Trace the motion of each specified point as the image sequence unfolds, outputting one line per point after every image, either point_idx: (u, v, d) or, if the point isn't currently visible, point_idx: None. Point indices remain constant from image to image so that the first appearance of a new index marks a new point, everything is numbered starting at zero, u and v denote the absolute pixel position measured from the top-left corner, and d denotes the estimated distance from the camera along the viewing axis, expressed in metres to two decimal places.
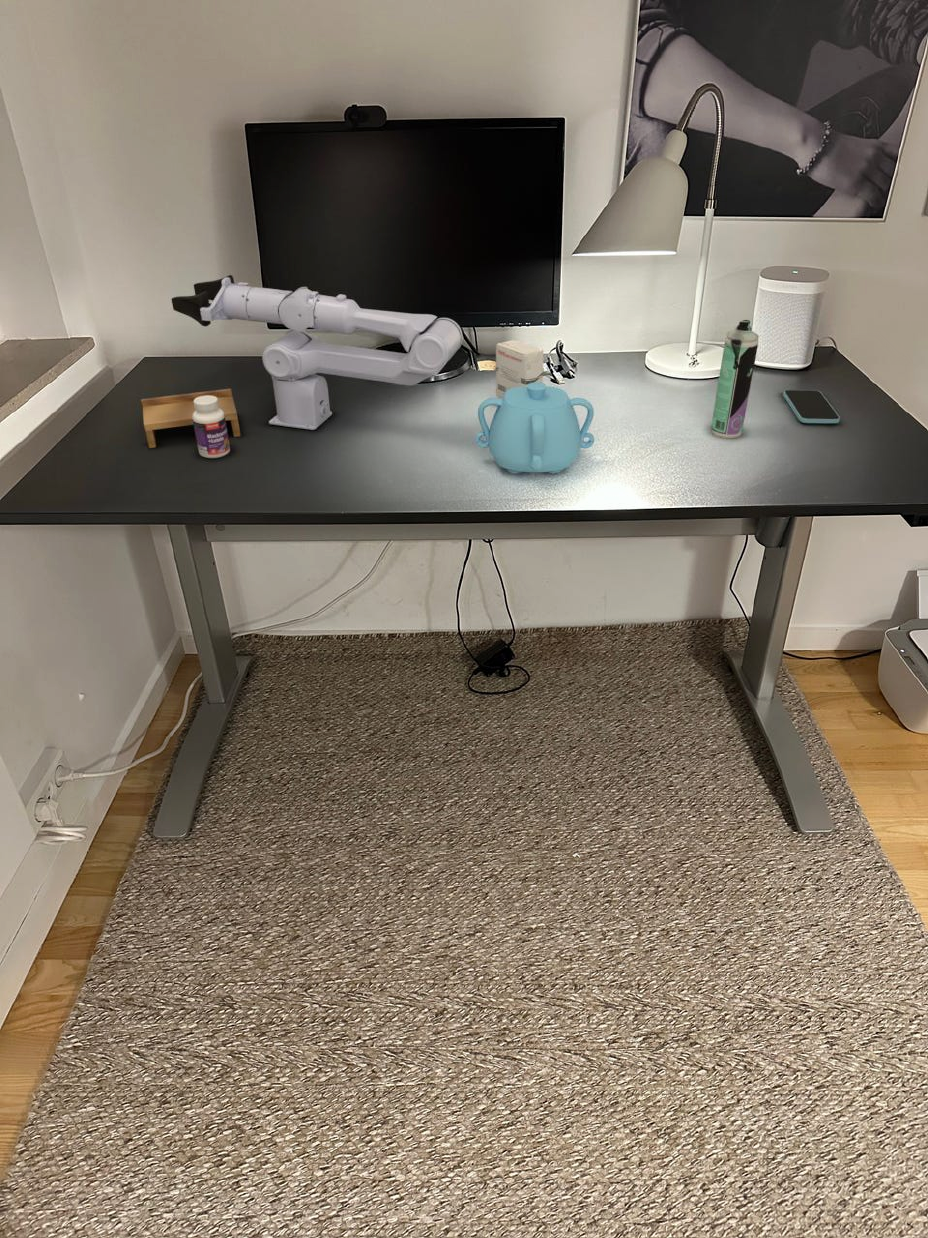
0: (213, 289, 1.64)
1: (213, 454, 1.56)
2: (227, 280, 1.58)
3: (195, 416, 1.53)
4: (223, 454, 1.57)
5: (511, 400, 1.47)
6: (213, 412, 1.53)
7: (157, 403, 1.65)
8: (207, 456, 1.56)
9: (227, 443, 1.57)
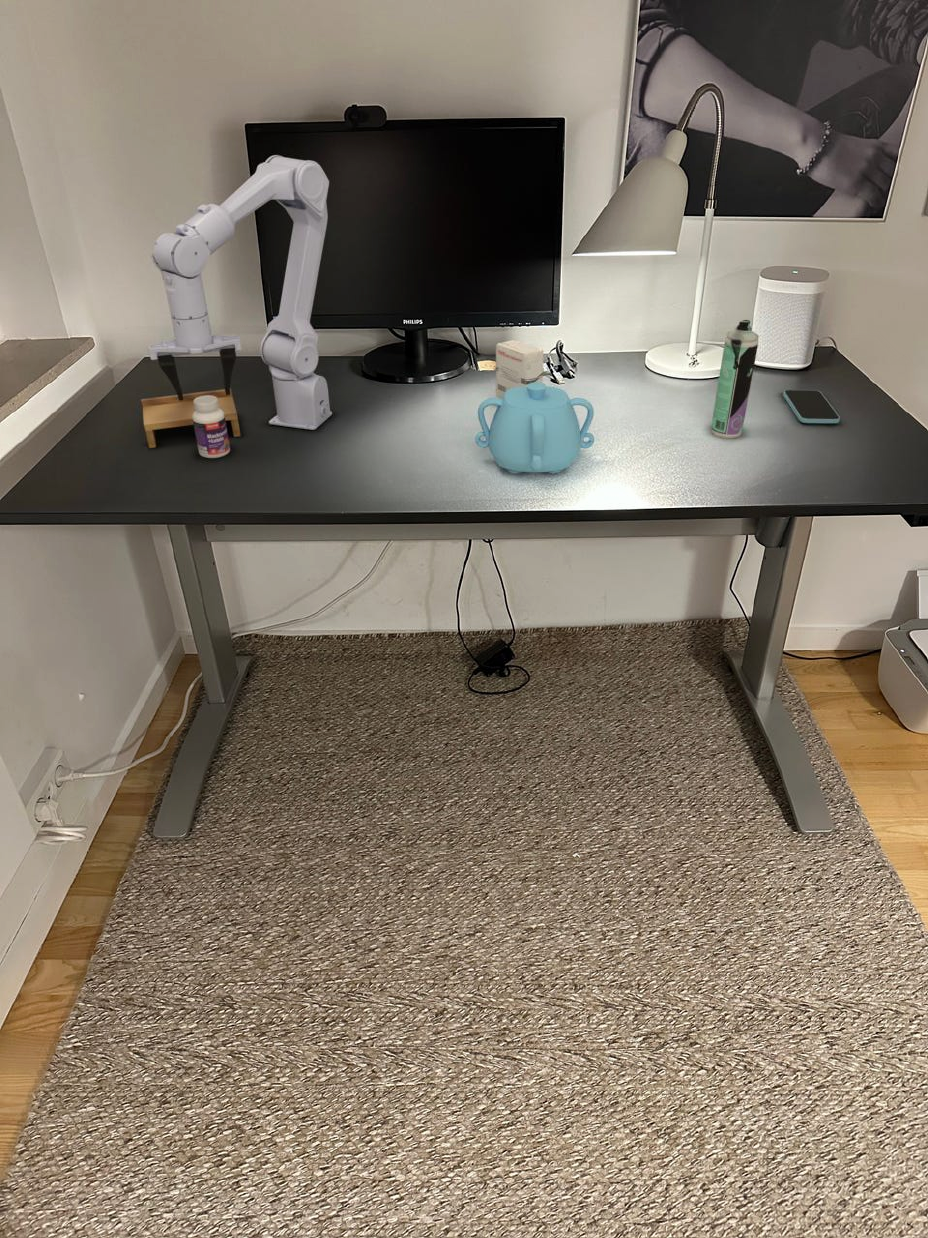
0: None
1: (213, 454, 1.56)
2: (196, 348, 1.45)
3: (195, 416, 1.53)
4: (223, 454, 1.57)
5: (511, 400, 1.47)
6: (213, 412, 1.53)
7: (157, 403, 1.65)
8: (207, 456, 1.56)
9: (227, 443, 1.57)
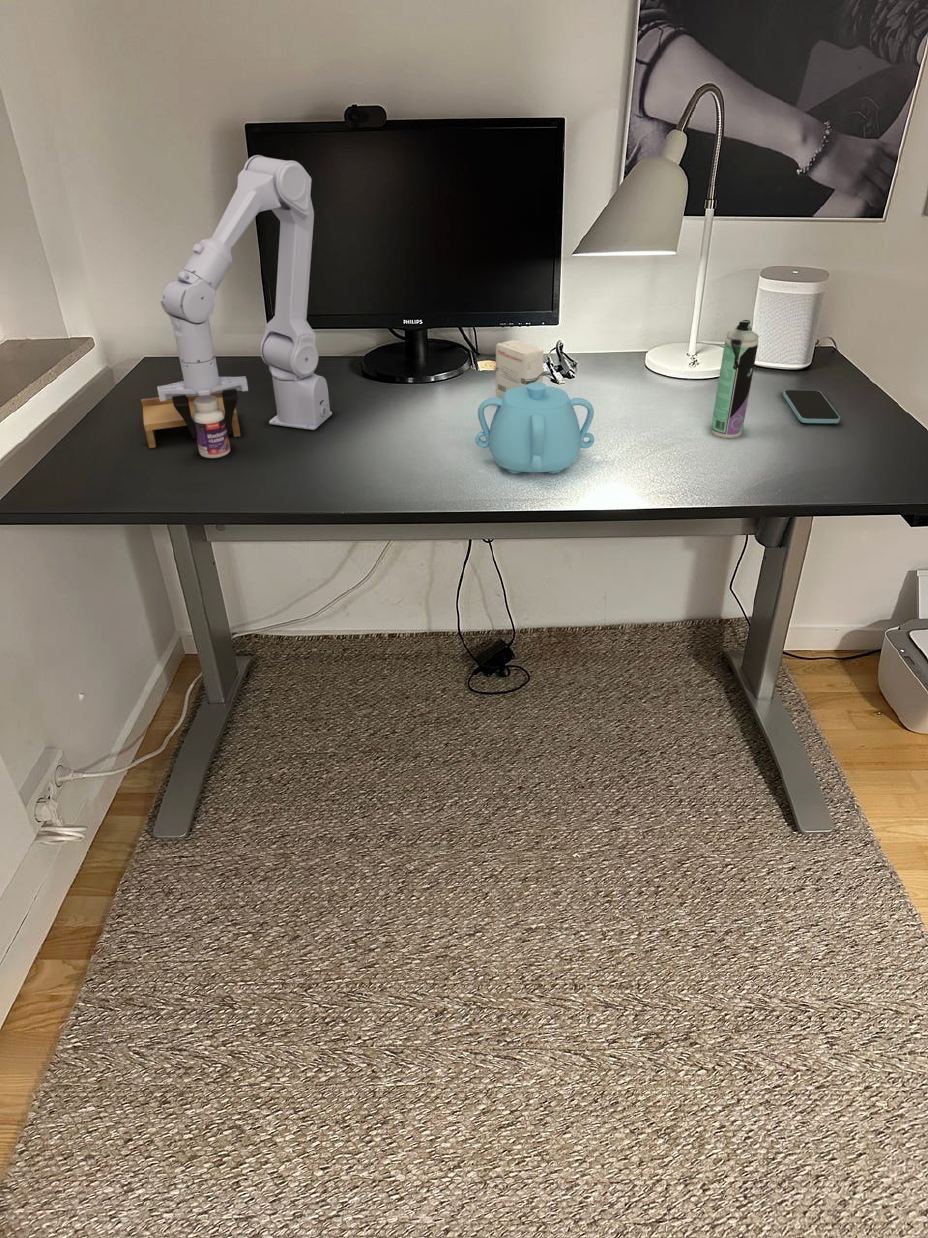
0: (191, 416, 1.54)
1: (213, 454, 1.56)
2: (204, 390, 1.49)
3: (195, 416, 1.53)
4: (223, 454, 1.57)
5: (511, 400, 1.47)
6: (213, 412, 1.53)
7: (157, 403, 1.65)
8: (207, 456, 1.56)
9: (227, 443, 1.57)
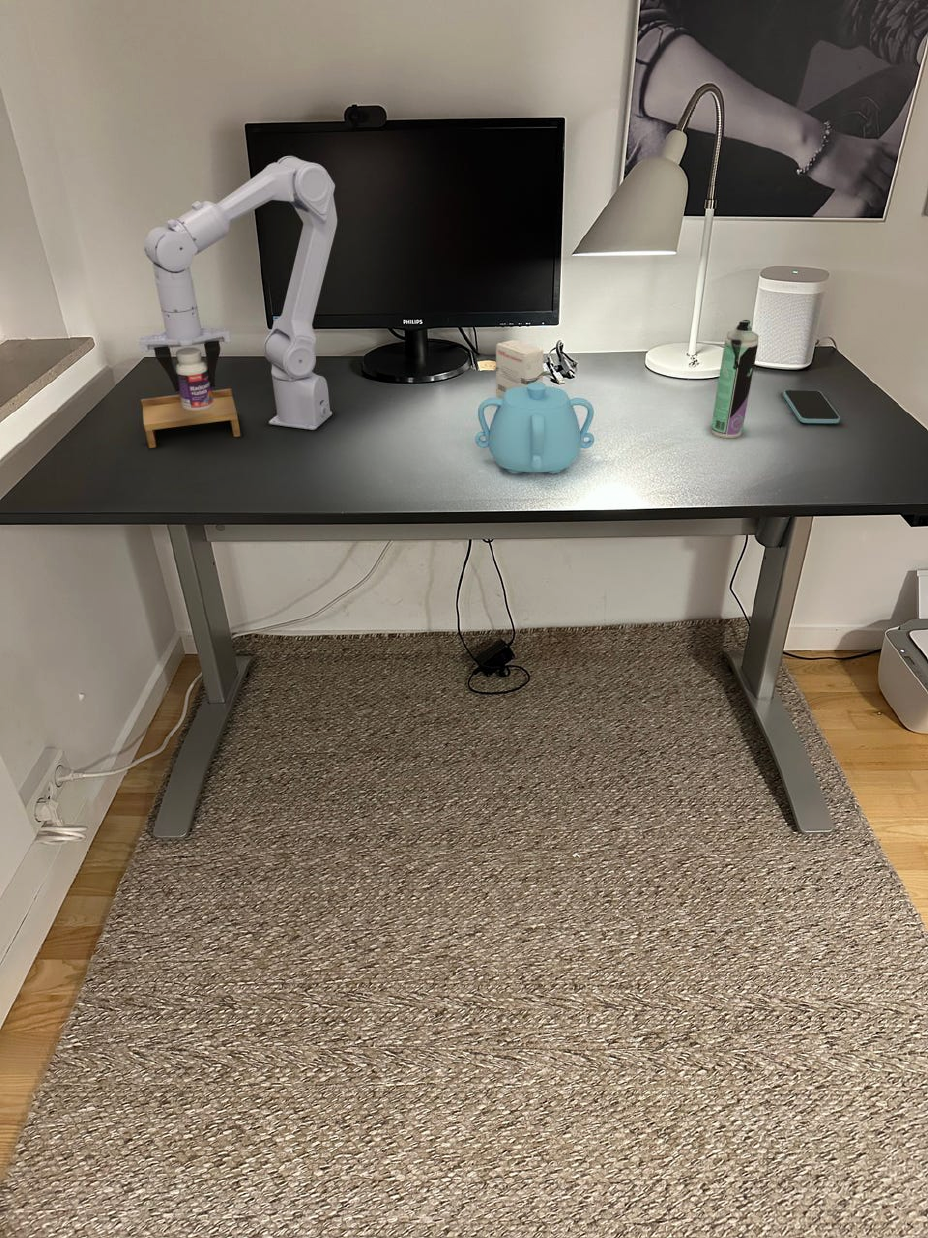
0: (173, 368, 1.53)
1: (196, 407, 1.55)
2: (186, 340, 1.48)
3: (177, 367, 1.52)
4: (206, 407, 1.56)
5: (511, 400, 1.47)
6: (196, 364, 1.52)
7: (157, 403, 1.65)
8: (190, 409, 1.56)
9: (210, 396, 1.56)
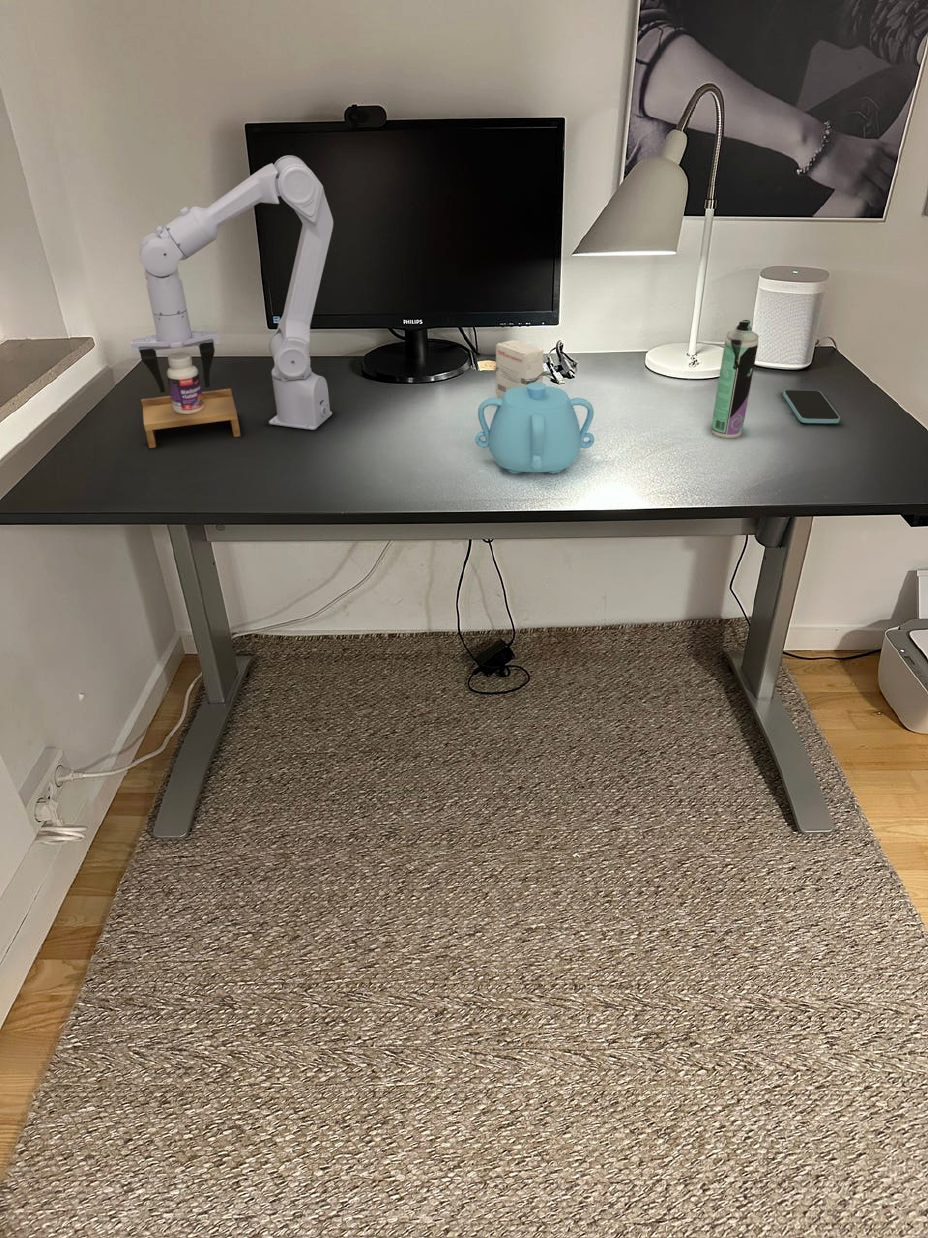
0: None
1: (187, 410, 1.61)
2: (176, 343, 1.53)
3: (169, 372, 1.58)
4: (197, 410, 1.62)
5: (511, 400, 1.47)
6: (187, 368, 1.58)
7: (157, 403, 1.65)
8: (181, 412, 1.61)
9: (201, 399, 1.62)
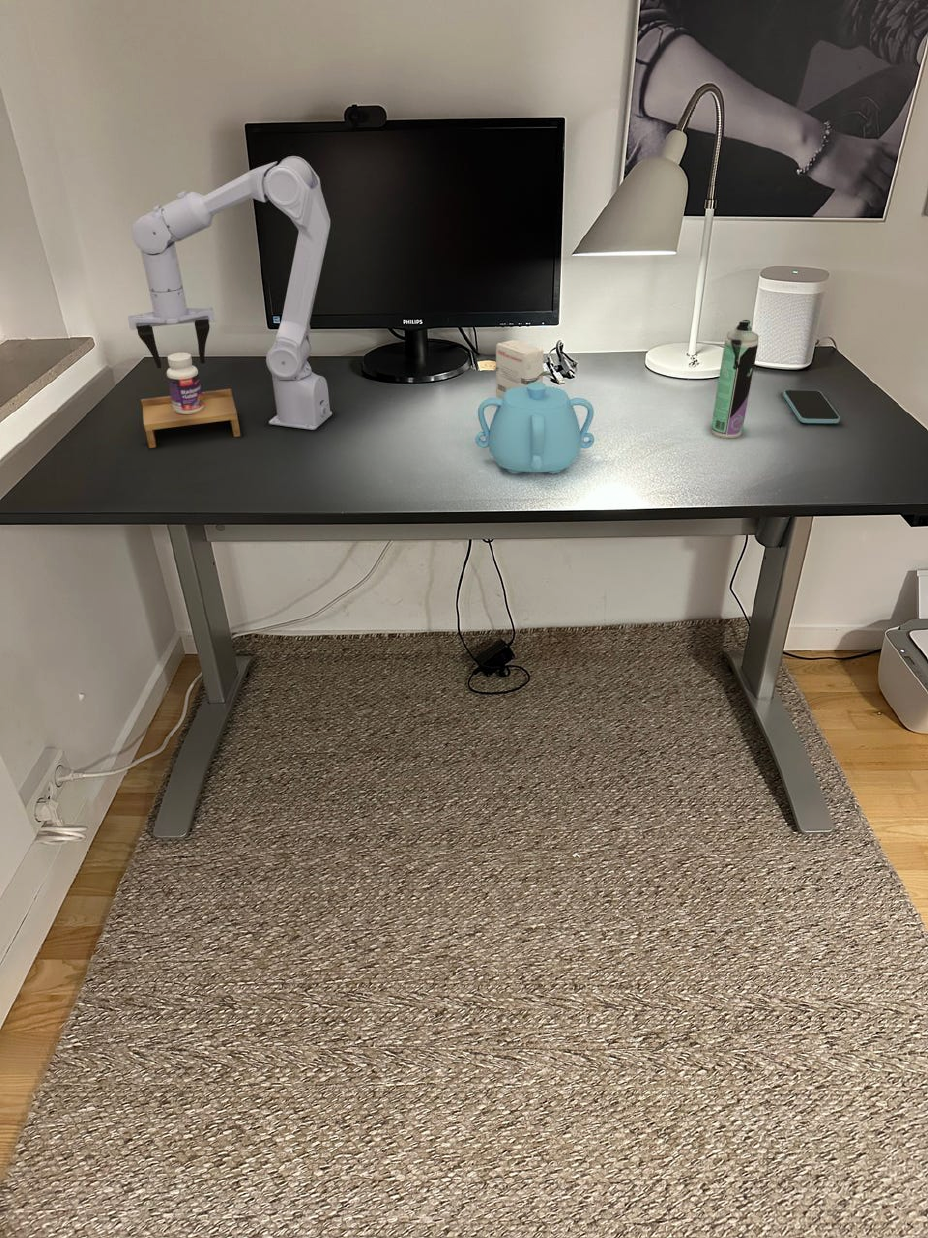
0: (155, 346, 1.62)
1: (187, 410, 1.61)
2: (172, 319, 1.57)
3: (169, 372, 1.58)
4: (197, 410, 1.62)
5: (511, 400, 1.47)
6: (187, 368, 1.58)
7: (157, 403, 1.65)
8: (181, 412, 1.61)
9: (201, 399, 1.62)
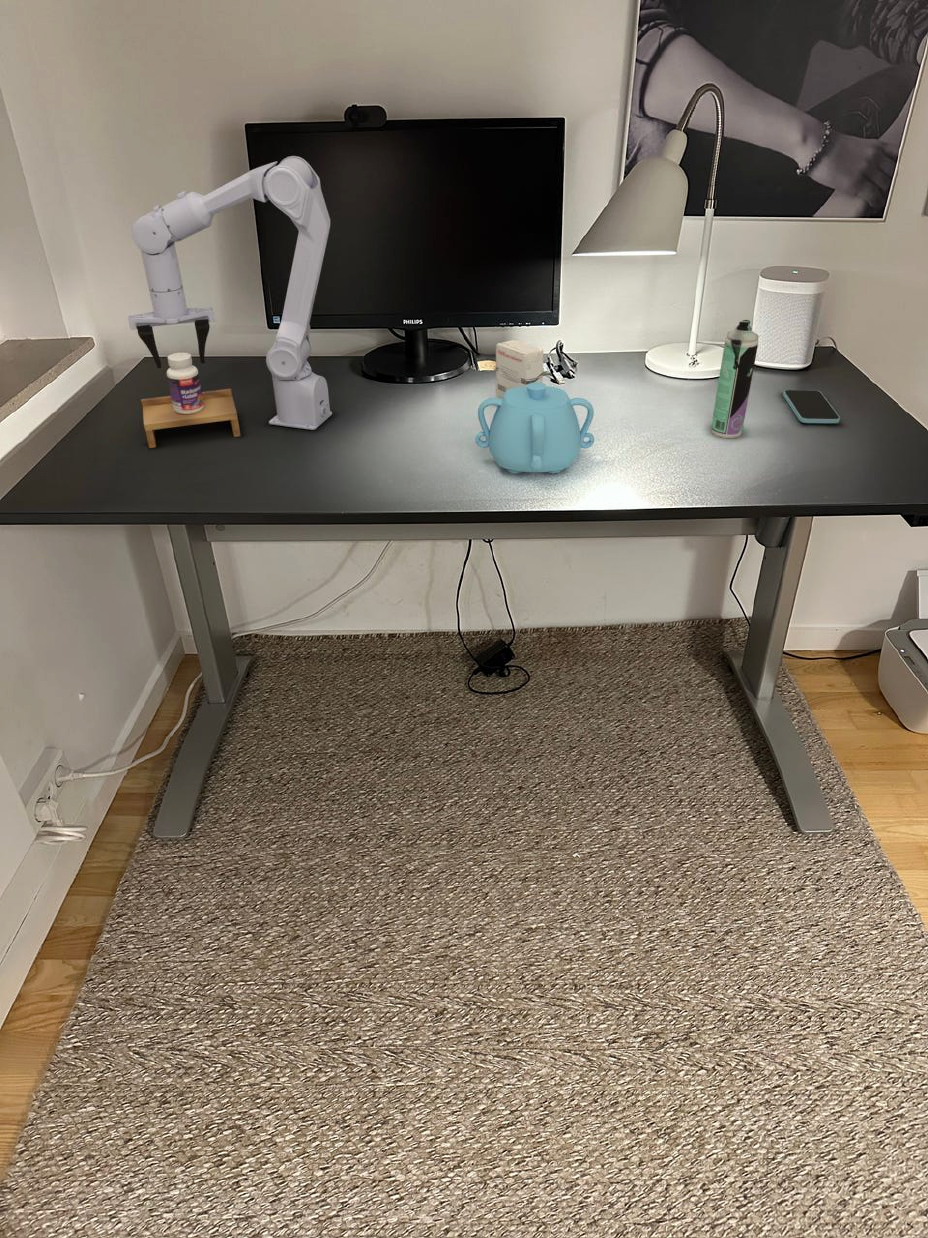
0: (155, 346, 1.62)
1: (187, 410, 1.61)
2: (172, 319, 1.57)
3: (169, 372, 1.58)
4: (197, 410, 1.62)
5: (511, 400, 1.47)
6: (187, 368, 1.58)
7: (157, 403, 1.65)
8: (181, 412, 1.61)
9: (201, 399, 1.62)
